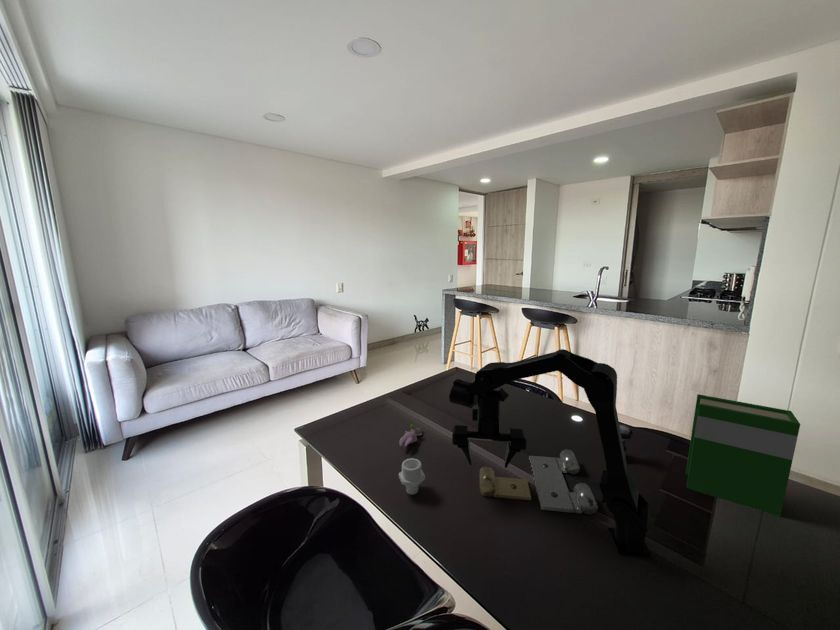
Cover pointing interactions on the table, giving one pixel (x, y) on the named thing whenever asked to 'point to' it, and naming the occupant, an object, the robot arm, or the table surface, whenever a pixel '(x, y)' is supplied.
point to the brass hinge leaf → (503, 486)
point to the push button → (625, 434)
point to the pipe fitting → (411, 475)
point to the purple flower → (410, 435)
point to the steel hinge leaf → (561, 485)
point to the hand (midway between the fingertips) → (487, 465)
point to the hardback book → (741, 452)
